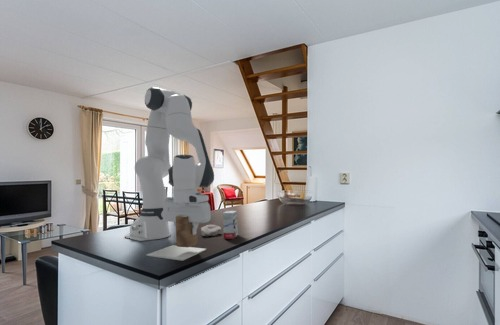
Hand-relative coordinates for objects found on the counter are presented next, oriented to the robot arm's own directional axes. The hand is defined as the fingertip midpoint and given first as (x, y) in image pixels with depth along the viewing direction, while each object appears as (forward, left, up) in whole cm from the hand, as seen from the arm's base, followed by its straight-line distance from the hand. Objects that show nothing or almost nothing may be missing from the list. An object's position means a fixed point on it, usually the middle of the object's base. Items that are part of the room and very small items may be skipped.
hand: (186, 233), depth 103 cm
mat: (-4, 0, -7) cm, 9 cm away
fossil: (-9, +29, -8) cm, 32 cm away
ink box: (+3, +29, -8) cm, 30 cm away
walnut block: (0, 0, -4) cm, 4 cm away
